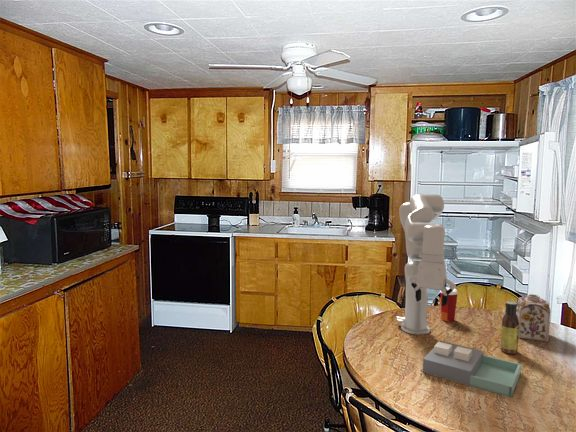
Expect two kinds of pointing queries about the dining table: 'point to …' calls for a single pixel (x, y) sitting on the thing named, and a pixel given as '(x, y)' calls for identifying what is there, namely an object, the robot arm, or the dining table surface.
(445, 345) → the tile
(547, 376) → the dining table surface
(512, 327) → the sauce bottle
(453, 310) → the coffee cup
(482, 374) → the box
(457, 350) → the tile
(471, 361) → the slate block
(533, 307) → the decorative jar
